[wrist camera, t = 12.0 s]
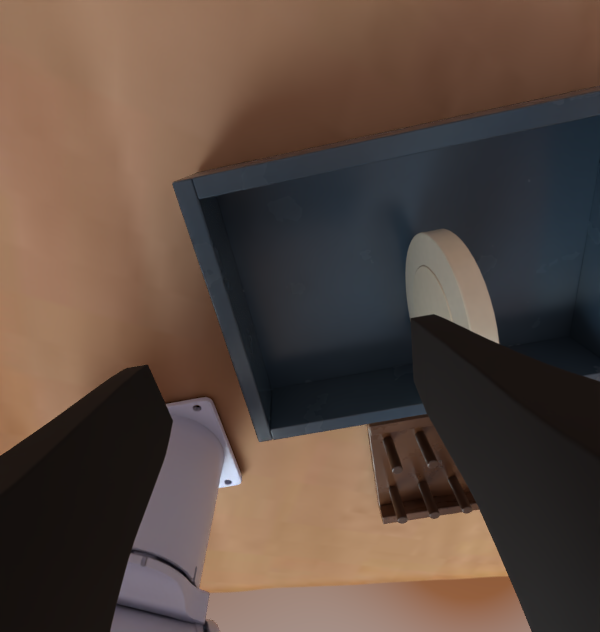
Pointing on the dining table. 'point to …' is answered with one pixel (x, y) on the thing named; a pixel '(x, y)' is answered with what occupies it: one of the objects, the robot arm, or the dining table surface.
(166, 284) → the dining table surface
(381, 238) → the dark blue tray
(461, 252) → the plate
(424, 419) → the plate rack
